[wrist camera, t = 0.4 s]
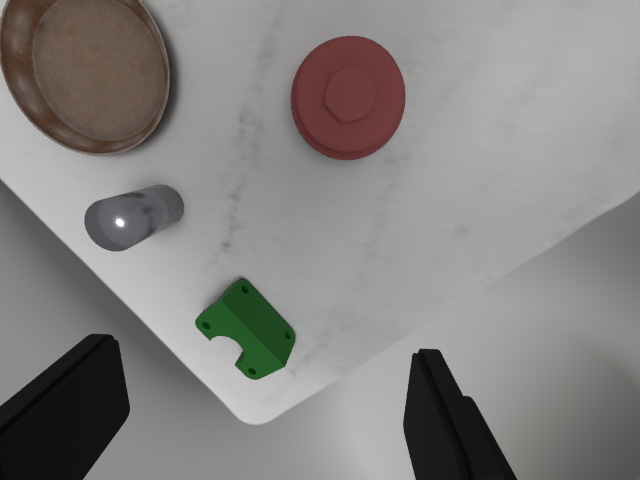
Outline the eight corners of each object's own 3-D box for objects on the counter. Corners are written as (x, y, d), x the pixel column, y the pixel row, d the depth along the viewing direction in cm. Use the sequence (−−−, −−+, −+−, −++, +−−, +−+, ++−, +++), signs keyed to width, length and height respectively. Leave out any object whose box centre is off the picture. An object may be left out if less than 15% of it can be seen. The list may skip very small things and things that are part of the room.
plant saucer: (-11, 18, 35) (-43, 7, 32) (131, -54, 33) (112, -74, 30) (78, 176, 40) (59, 178, 37) (209, 121, 37) (198, 120, 34)
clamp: (235, 291, 48) (184, 309, 40) (262, 272, 45) (214, 287, 37) (273, 366, 46) (228, 400, 38) (303, 351, 44) (263, 384, 35)
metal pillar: (143, 182, 39) (82, 195, 30) (184, 188, 39) (137, 203, 30) (143, 222, 41) (86, 247, 31) (183, 228, 41) (138, 255, 31)
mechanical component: (373, 165, 38) (289, 143, 37) (401, 73, 35) (311, 47, 34) (393, 177, 26) (271, 144, 26) (438, 39, 23) (301, -1, 23)
